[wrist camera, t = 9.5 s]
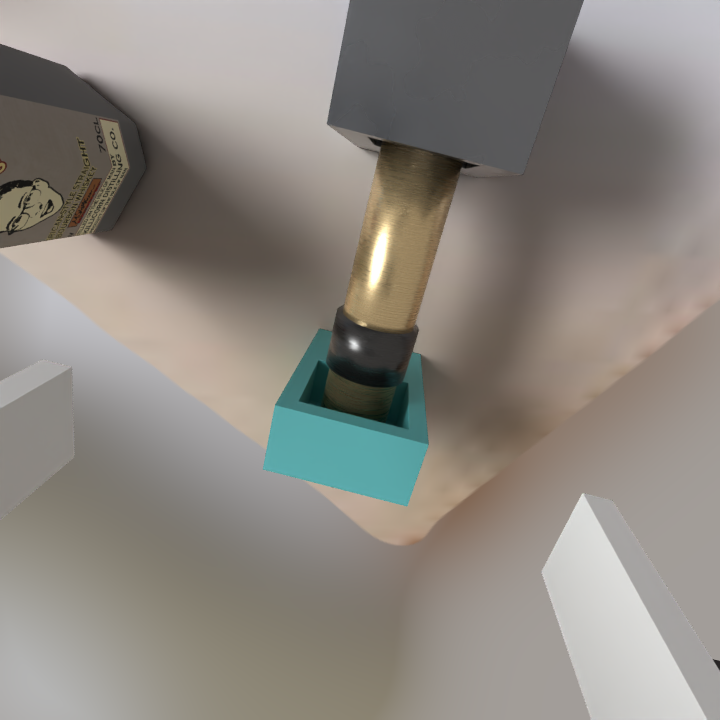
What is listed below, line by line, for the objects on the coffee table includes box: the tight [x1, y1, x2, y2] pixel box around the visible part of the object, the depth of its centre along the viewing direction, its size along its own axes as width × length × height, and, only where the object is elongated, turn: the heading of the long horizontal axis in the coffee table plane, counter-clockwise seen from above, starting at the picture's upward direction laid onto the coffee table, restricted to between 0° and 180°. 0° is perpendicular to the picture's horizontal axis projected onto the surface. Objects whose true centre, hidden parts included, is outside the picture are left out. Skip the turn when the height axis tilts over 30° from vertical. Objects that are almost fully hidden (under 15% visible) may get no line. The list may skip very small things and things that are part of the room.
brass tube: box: [321, 141, 463, 423], centre depth 24 cm, size 18×5×5 cm, turn 167°
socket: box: [263, 329, 429, 506], centre depth 30 cm, size 4×8×13 cm, turn 76°
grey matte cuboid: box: [327, 0, 584, 178], centre depth 23 cm, size 9×8×13 cm
